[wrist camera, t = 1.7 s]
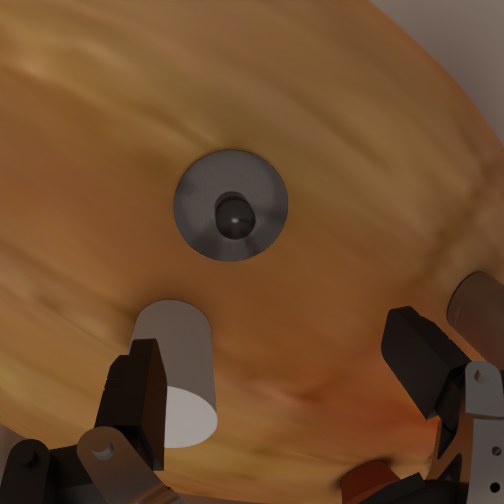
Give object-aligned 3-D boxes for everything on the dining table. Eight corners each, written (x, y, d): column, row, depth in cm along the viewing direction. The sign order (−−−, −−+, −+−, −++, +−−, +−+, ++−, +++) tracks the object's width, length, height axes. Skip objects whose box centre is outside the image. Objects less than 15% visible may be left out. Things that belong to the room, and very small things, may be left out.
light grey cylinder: (120, 318, 31) (93, 402, 20) (186, 287, 31) (180, 371, 20) (162, 370, 34) (154, 455, 23) (224, 344, 34) (235, 431, 23)
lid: (284, 147, 28) (300, 151, 23) (285, 251, 31) (299, 274, 26) (170, 154, 26) (162, 159, 22) (181, 260, 30) (177, 286, 25)
